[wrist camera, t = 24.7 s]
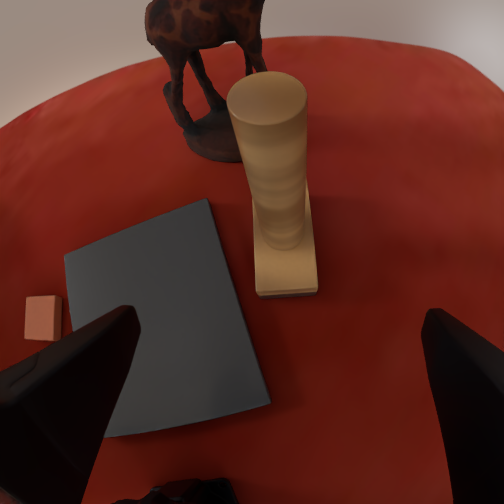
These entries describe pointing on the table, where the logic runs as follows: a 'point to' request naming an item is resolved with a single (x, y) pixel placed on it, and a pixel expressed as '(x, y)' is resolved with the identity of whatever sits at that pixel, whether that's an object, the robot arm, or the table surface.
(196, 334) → the board
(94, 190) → the table surface
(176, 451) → the table surface
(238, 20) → the statue
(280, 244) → the tan wooden tall post
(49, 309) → the block
